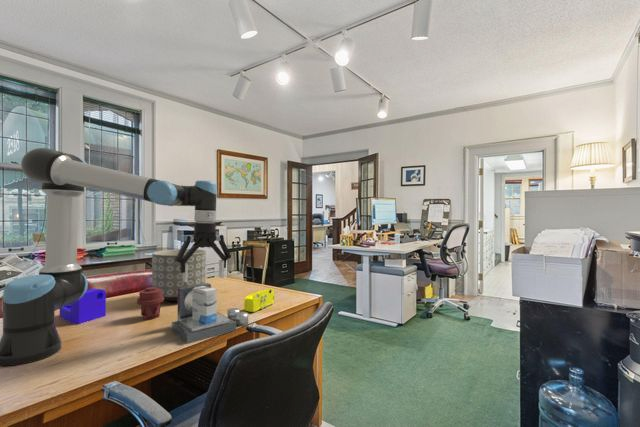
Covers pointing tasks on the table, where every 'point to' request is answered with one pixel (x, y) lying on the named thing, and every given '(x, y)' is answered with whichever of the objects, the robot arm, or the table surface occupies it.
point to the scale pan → (197, 325)
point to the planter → (176, 271)
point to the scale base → (187, 311)
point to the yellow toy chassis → (259, 300)
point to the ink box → (204, 304)
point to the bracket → (86, 307)
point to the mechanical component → (150, 302)
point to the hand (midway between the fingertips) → (203, 279)
